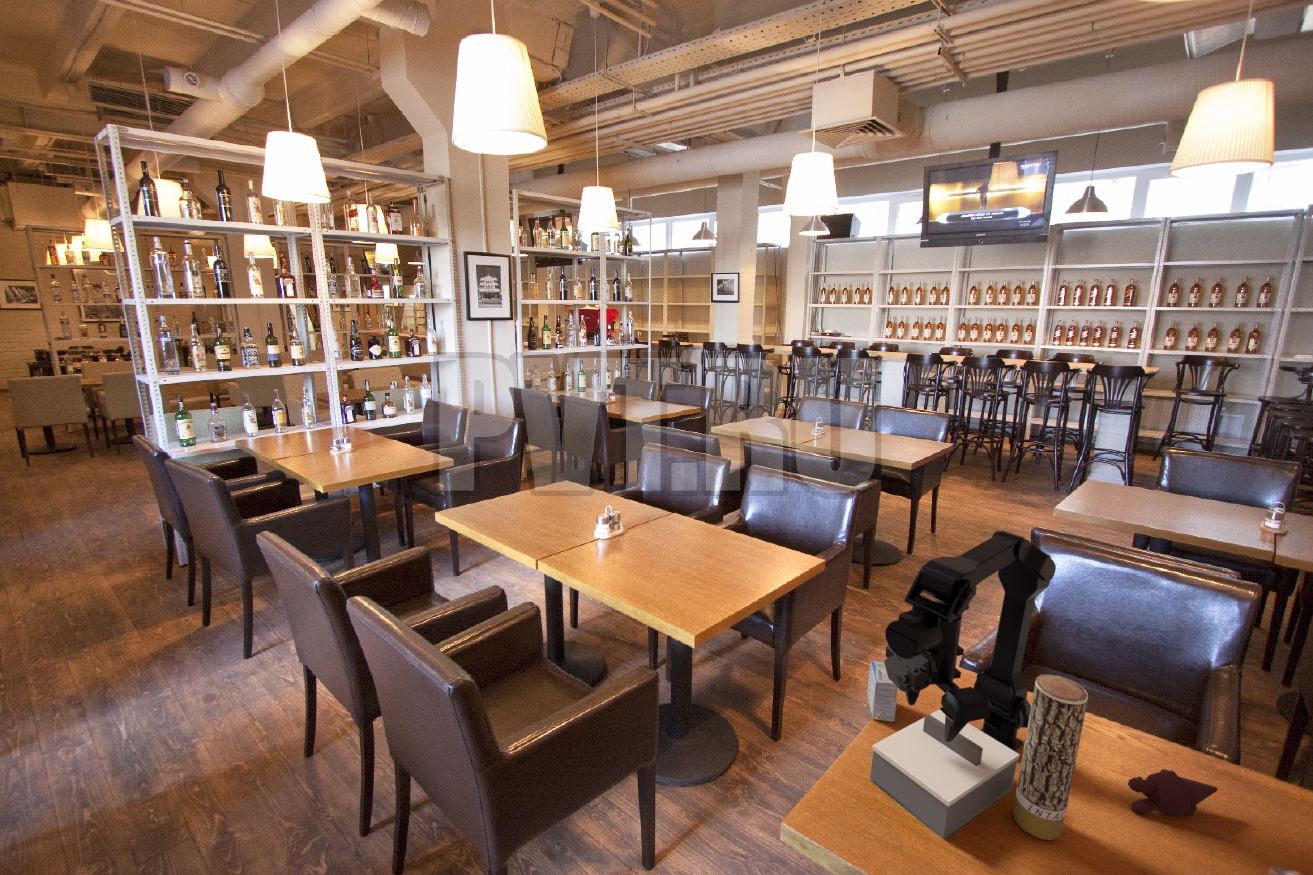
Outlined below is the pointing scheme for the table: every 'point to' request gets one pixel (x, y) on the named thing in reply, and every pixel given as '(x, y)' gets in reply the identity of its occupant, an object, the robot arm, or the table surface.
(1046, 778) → the paper tube
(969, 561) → the robot arm
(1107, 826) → the table surface
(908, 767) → the lid
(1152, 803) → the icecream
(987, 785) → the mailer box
